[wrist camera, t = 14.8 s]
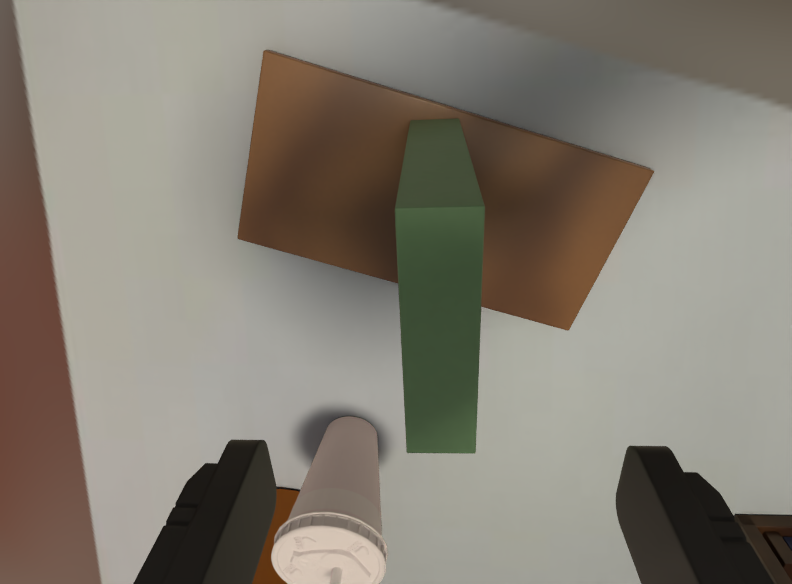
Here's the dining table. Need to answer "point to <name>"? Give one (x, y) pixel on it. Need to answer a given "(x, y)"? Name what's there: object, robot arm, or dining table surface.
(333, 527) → the smoothie
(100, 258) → the dining table surface
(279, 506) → the mug
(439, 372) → the green book
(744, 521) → the book rack
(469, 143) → the brown wooden board
